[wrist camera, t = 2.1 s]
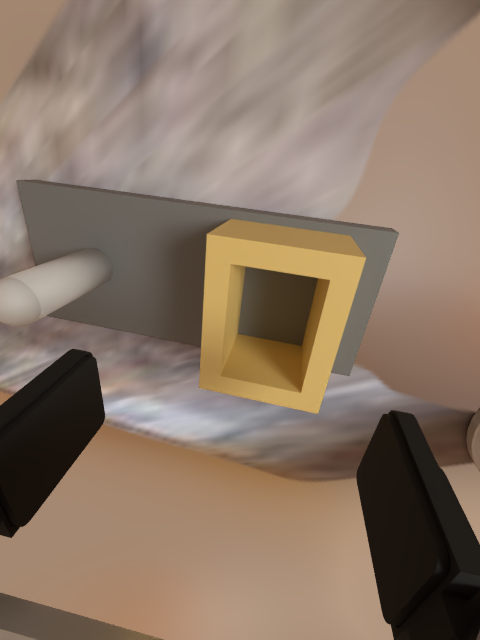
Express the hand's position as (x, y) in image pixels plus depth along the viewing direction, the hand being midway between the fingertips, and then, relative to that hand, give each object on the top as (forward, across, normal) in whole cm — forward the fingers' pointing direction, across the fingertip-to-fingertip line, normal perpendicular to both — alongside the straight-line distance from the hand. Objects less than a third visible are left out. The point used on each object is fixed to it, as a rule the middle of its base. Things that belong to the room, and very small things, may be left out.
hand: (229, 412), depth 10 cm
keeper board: (+13, +5, 0) cm, 14 cm away
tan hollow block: (+11, -1, 0) cm, 11 cm away
